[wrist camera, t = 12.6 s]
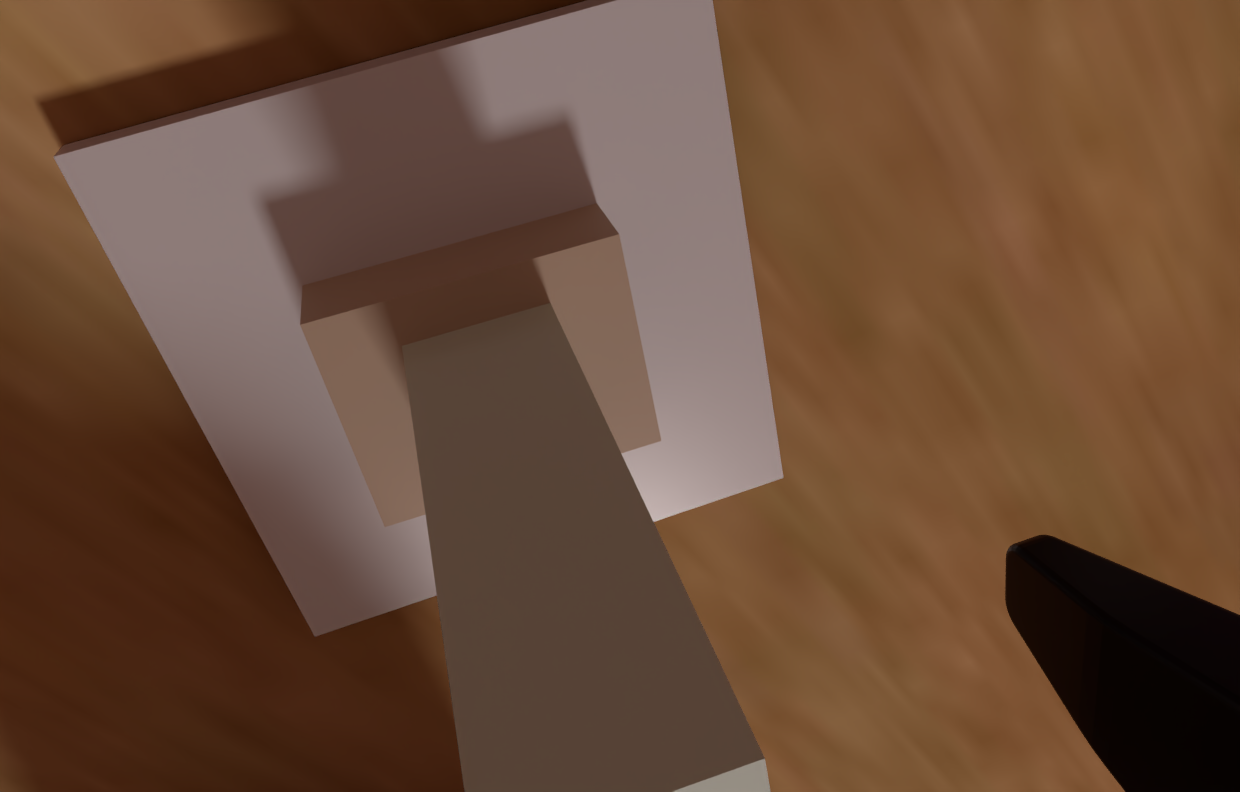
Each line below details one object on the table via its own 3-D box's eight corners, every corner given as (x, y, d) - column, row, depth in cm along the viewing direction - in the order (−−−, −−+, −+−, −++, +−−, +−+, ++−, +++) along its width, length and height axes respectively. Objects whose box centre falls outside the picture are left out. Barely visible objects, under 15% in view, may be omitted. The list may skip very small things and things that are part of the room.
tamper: (638, 399, 18) (921, 916, 10) (381, 478, 18) (431, 1105, 9) (596, 203, 16) (911, 636, 7) (302, 285, 16) (268, 862, 7)
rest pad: (772, 462, 21) (783, 477, 20) (315, 616, 20) (315, 636, 19) (696, -30, 15) (709, -26, 15) (62, 145, 14) (53, 156, 14)
